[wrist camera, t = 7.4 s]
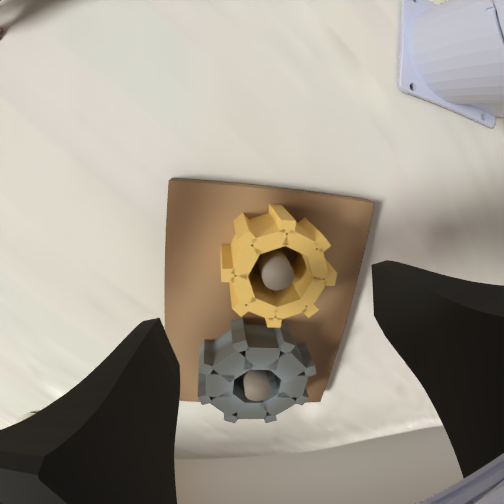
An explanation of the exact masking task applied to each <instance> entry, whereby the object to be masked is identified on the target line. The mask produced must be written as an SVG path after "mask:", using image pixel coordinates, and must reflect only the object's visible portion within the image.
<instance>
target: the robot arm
mask: <svg viewBox="0 0 504 504" xmlns="http://www.w3.org/2000/svg"><path fill="white" fill-rule="evenodd" d="M415 2H416V3H415ZM415 2H414V1H413V0H401V32H400V55H399V71H398V88H399V89H400V90H401V91H402V92H404V93H407V94H410V95H413V96H415V97H418V98H421V99H424V100H426V101H429V102H431V103H434V104H437V105H439V106H442V107H444V108H447V109H449V110H451V111H454V112H456V113H458V114H461V115H463V116H465V117H467V118H470V119H472V120H474V121H476V122H478V123H480V124H482V125H484V126H487V127H489V128H493V127H494V125H495V116H499V117H504V0H448V1H446V2H444V3H441V4H439V5H436V4H434V3H432V2H430V1H428V0H415ZM410 84H411V85H412V86H413V90H411V89H410ZM481 116H482V117H481ZM372 281H373V302H374V316H375V318H376V320H377V322H378V324H379V326H380V328H381V329H382V331H383V333H384V334H385V336H386V338H387V339H388V340H389V342H390V343H391V344H392V346H393V347H394V348H395V350H396V351H397V352H398V354H399V355H400V356H401V357H402V359H403V360H404V361H405V363H406V364H407V365H408V367H409V368H410V369H411V370H412V372H413V373H414V374H415V376H416V377H417V378H418V380H419V381H420V383H421V384H422V386H423V387H424V389H425V391H426V393H427V394H428V396H429V398H430V400H431V402H432V403H433V405H434V407H435V409H436V411H437V413H438V415H439V417H440V419H441V421H442V423H443V425H444V428H445V430H446V432H447V434H448V437H449V439H450V441H451V444H452V446H453V449H454V451H455V454H456V456H457V460H458V462H459V465H460V468H461V471H462V474H463V478H464V479H463V480H461V481H459V482H458V483H456V484H454V485H452V486H450V487H448V488H446V489H445V490H443V491H441V492H439V493H437V494H435V495H433V496H431V497H429V498H427V499H425V500H423V501H421V502H419V503H416V504H504V286H501V285H491V284H484V283H478V282H472V281H466V280H462V279H458V278H453V277H449V276H445V275H441V274H438V273H434V272H431V271H427V270H424V269H420V268H417V267H413V266H410V265H406V264H403V263H399V262H394V261H388V260H387V261H383V262H380V263H376V264H373V265H372ZM179 398H180V364H179V362H178V360H177V357H176V355H175V353H174V351H173V348H172V346H171V344H170V342H169V339H168V337H167V335H166V332H165V330H164V327H163V325H162V323H161V320H160V318H156V319H151V320H147V321H143V322H141V323H140V324H139V325H138V326H137V327H136V328H135V329H134V330H133V331H132V332H131V333H130V334H129V335H128V336H127V337H126V338H125V339H124V340H123V341H122V342H121V343H120V344H119V345H118V346H117V347H116V348H115V350H114V351H113V352H112V353H111V354H110V355H109V356H108V357H107V358H106V359H105V360H104V361H103V362H102V363H101V364H100V365H99V366H98V367H96V368H95V369H94V370H93V371H92V372H91V373H90V374H89V375H88V376H87V377H86V378H85V379H84V380H82V381H81V382H80V383H79V384H78V385H76V386H75V387H74V388H73V389H71V390H70V391H69V392H67V393H66V394H65V395H63V396H62V397H60V398H59V399H57V400H56V401H54V402H53V403H51V404H50V405H49V406H47V407H46V408H44V409H42V410H41V411H39V412H37V413H36V414H34V415H32V416H30V417H28V418H26V419H24V420H22V421H20V422H19V423H16V424H14V425H12V426H10V427H7V428H5V429H2V430H0V502H2V503H3V504H177V499H176V487H175V473H174V472H175V471H174V443H175V433H176V424H177V416H178V407H179Z"/></svg>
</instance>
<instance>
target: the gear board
mask: <svg viewBox="0 0 504 504" xmlns="http://www.w3.org/2000/svg"><path fill="white" fill-rule="evenodd" d="M269 204H274V205H282V206H283V207H284V208H285V209H286V210H287V211H288V212H289V214H290V215H291V216H292V217H293V218H294V219H295V220H296V222H299V221H301V220H302V219H303V218H304V217H305V218H306V219H307V220H308V221H309V222H310V223H311V224H312V225H313V226H314V227H315V228H316V229H318V230H319V231H320V232H321V233H322V234H323V235H324V237H325V238H326V239H327V241H328V242H329V243H330V245H331V246H330V247H329V248H328V249H327V250H326V251H324V252H323V253H324V258H325V259H326V260H327V261H328V263H329V264H330V265H331V266H332V267H333V269H334V270H335V271H336V272H337V277H336V282H335V286H325V287H324V289H323V290H322V292H321V294H320V295H319V297H318V298H317V300H316V301H315V304H316V305H317V307H318V309H319V310H318V311H317V312H316V313H315V314H313V315H312V316H311V317H309V318H308V317H307V316H306V315H305V314H304V313H303V312H302V313H299V314H297V315H294V316H291V317H288V318H285V319H282V322H281V328H275V327H267V324H266V320H265V318H264V317H262V316H259V315H257V314H254V313H252V312H249V311H248V312H247V313H246V314H245V315H243V316H242V317H240V316H239V315H238V314H237V313H236V312H235V311H234V310H233V309H232V305H231V295H230V284H229V282H221V258H220V255H221V244H223V245H230V244H231V242H232V240H233V238H234V236H235V234H236V232H235V227H234V222H233V221H234V220H235V219H236V218H237V217H238V216H240V215H241V214H242V213H244V214H245V216H246V217H247V218H248V219H251V218H254V217H257V216H261V215H264V214H267V213H268V212H269ZM373 207H374V203H373V202H370V201H368V200H366V199H361V198H354V197H347V196H341V195H334V194H326V193H319V192H311V191H304V190H296V189H287V188H279V187H270V186H261V185H251V184H241V183H230V182H219V181H207V180H194V179H180V178H171V179H170V180H169V185H168V201H167V220H166V245H165V332H166V335H167V337H168V339H169V342H170V344H171V346H172V348H173V351H174V353H175V355H176V357H177V360H178V362H179V364H180V398H179V400H180V401H194V402H201V404H202V405H203V404H208V403H211V404H212V405H213V406H215V407H216V408H217V409H219V410H220V411H222V412H223V413H224V420H225V421H228V422H232V423H235V422H236V421H237V420H238V419H264V420H265V423H268V422H272V421H276V420H277V419H276V415H277V414H279V413H281V412H283V411H284V410H286V409H288V408H289V407H291V406H293V405H294V404H300V405H303V404H304V403H305V402H320V401H321V398H322V395H323V392H324V390H325V387H326V384H327V381H328V378H329V375H330V372H331V369H332V366H333V363H334V360H335V356H336V353H337V350H338V347H339V344H340V340H341V337H342V334H343V330H344V327H345V323H346V320H347V316H348V313H349V309H350V306H351V302H352V298H353V294H354V291H355V287H356V283H357V279H358V275H359V271H360V267H361V263H362V258H363V254H364V250H365V245H366V241H367V236H368V232H369V227H370V222H371V217H372V212H373ZM296 255H297V252H296V251H295V250H293V249H291V248H289V247H287V246H284V247H281V248H278V249H275V250H272V251H269V252H266V253H262V254H260V255H259V257H258V259H257V261H256V262H255V264H254V266H253V268H252V270H251V271H252V272H254V273H256V274H258V275H261V276H262V280H263V282H264V284H265V286H266V287H268V288H269V289H271V290H282V289H285V288H287V287H288V286H289V285H290V284H291V283H292V281H293V278H294V271H293V269H292V267H291V264H292V262H293V260H294V259H295V257H296Z"/></svg>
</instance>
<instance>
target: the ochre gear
mask: <svg viewBox="0 0 504 504" xmlns="http://www.w3.org/2000/svg"><path fill="white" fill-rule="evenodd" d="M233 222H234V227H235V232H236V234H235V236H234V238H233V240H232V242H231V244H230V245H223V244H221V255H220V258H221V282H229V284H230V295H231V305H232V309H233V310H234V311H235V312H236V313H237V314H238V315H239V316H240V317H242V316H243V315H245V314H246V313H247V312H248V311H249V312H252V313H254V314H257V315H259V316H262V317H264V318H265V320H266V324H267V327H275V328H281V322H282V319H285V318H288V317H291V316H294V315H297V314H299V313H302V312H303V313H304V314H305V315H306V316H307V317H308V318H309V317H311V316H312V315H313V314H315V313H316V312H317V311H318V310H319V309H318V307H317V305H316V304H315V301H316V300H317V298H318V297H319V295H320V294H321V292H322V290H323V289H324V287H325V286H335V282H336V277H337V272H336V271H335V270H334V269H333V267H332V266H331V265H330V264H329V263H328V261H327V260H326V259H325V258H324V253H323V252H324V251H326V250H327V249H328V248H329V247H330V246H331V245H330V243H329V242H328V241H327V239H326V238H325V237H324V235H323V234H322V233H321V232H320V231H319V230H318V229H316V228H315V227H314V226H313V225H312V224H311V223H310V222H309V221H308V220H307V219H306V218H305V217H304V218H303V219H302V220H301V221H299V222H296V220H295V219H294V218H293V217H292V216H291V215H290V214H289V212H288V211H287V210H286V209H285V208H284V207H283V206H282V205H274V204H269V212H268V213H267V214H264V215H261V216H257V217H254V218H251V219H248V218H247V217H246V216H245V214H244V213H242V214H241V215H240V216H238V217H237V218H236V219H235V220H234V221H233ZM284 246H287V247H289V248H291V249H293V250H295V251H296V252H297V255H296V257H295V259H294V260H293V262H292V264H291V267H292V269H293V271H294V278H293V281H292V283H291V284H290V285H289V286H288V287H287V288H285V289H282V290H271V289H269V288H268V287H266V286H265V284H264V282H263V280H262V276H261V275H258V274H256V273H254V272H252V271H251V270H252V268H253V266H254V264H255V262H256V261H257V259H258V257H259V255H260V254H262V253H266V252H269V251H272V250H275V249H278V248H281V247H284Z"/></svg>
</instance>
